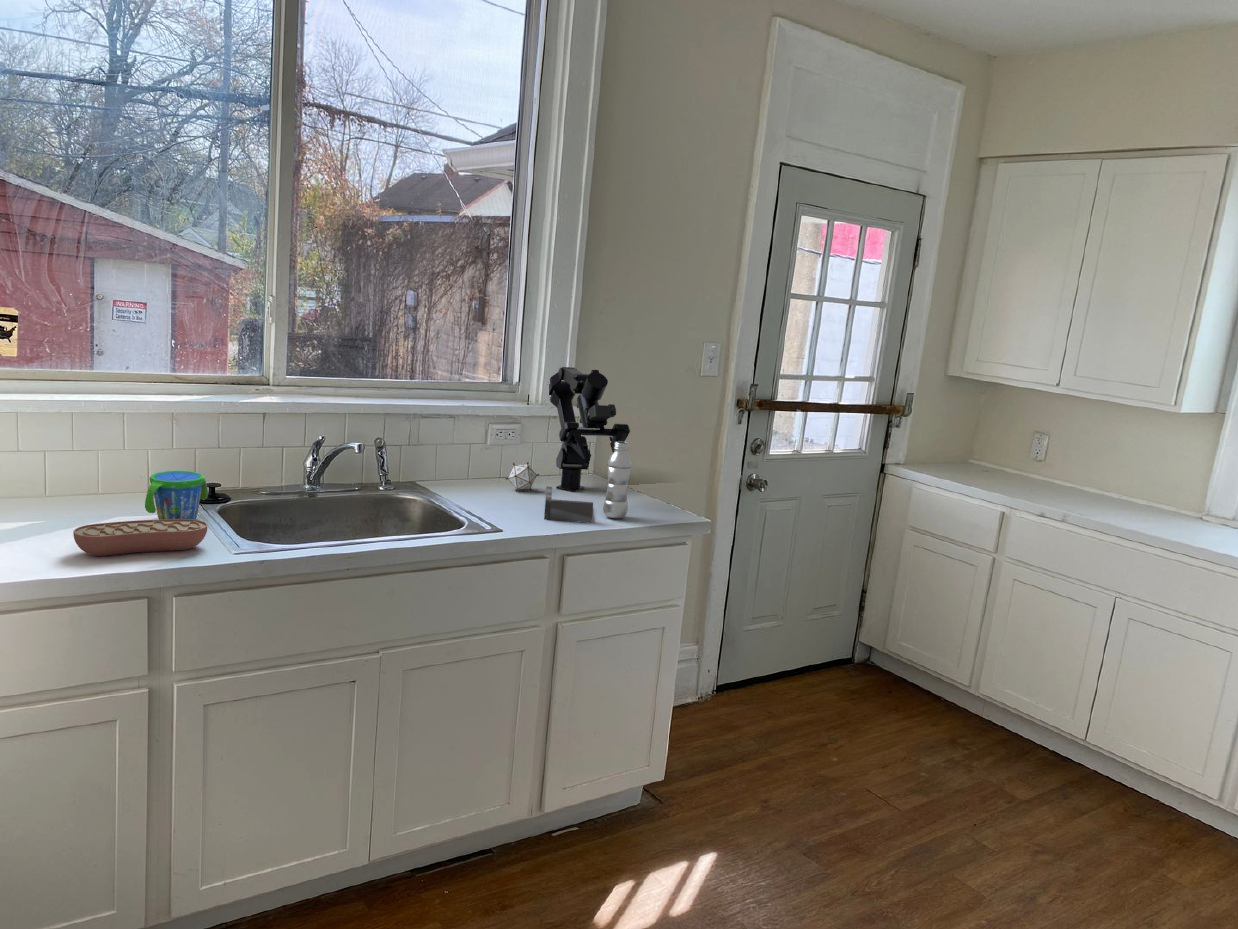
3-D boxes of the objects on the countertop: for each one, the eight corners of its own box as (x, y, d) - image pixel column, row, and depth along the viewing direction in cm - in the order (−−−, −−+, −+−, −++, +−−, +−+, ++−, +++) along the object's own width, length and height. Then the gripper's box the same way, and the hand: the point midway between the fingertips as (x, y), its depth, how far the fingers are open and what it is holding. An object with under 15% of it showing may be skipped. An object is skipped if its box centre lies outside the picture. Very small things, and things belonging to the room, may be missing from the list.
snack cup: (163, 532, 186) (163, 485, 185) (128, 523, 190) (127, 476, 189) (224, 518, 201) (224, 474, 199) (189, 510, 205) (190, 466, 203)
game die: (514, 503, 255) (494, 474, 252) (527, 488, 262) (508, 460, 259) (536, 493, 250) (516, 464, 247) (549, 478, 257) (530, 450, 254)
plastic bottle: (598, 518, 232) (605, 442, 228) (607, 513, 238) (614, 439, 234) (621, 522, 229) (628, 445, 226) (630, 517, 236) (637, 442, 232)
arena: (545, 504, 241) (546, 486, 240) (589, 507, 242) (591, 489, 241) (544, 519, 225) (545, 500, 224) (591, 522, 226) (593, 503, 225)
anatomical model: (75, 564, 164) (74, 538, 163) (72, 549, 172) (71, 523, 171) (211, 553, 176) (211, 529, 175) (202, 540, 184) (202, 516, 184)
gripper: (565, 391, 237) (575, 439, 229) (630, 394, 244) (642, 441, 236) (554, 417, 245) (564, 464, 237) (617, 419, 252) (629, 465, 244)
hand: (600, 458), depth 238 cm, fingers open, 9 cm apart
